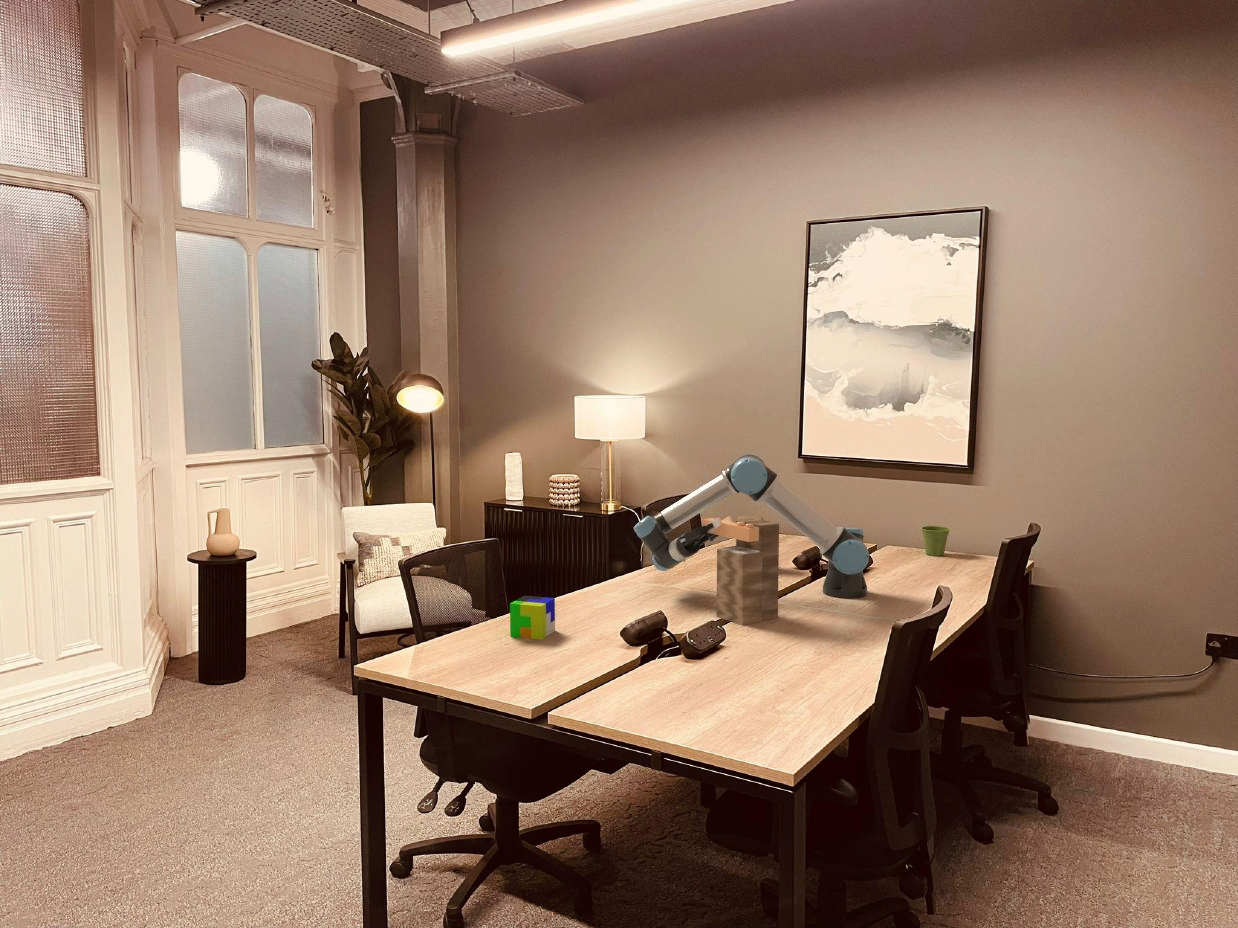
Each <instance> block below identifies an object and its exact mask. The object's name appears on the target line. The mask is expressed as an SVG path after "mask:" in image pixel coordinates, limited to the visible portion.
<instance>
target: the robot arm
mask: <svg viewBox="0 0 1238 928" xmlns="http://www.w3.org/2000/svg"><path fill="white" fill-rule="evenodd" d="M739 493H741V494H744V495H746V496H747V497H748V498H750V499H751V500H753V501H754V502H755V503H764V504H765V505H766V506H768V507H769V508H770V510H771V509H772V511H773V512H775V513H776V514H778V515H779V517H781V518H782V519H784V520H785V521H786V522H787V523H789V524H790V525H791V526H793V528H795V529H796V530H798V531H799V532H800V533H801V534H803V536H805V537H807V538H808V539H809V540H810V541H811V542H813V543H814V544H815V545H817V547H819V554H820V555H822V556H823V557H824V558H825V559H827V560H828V562H827V563H828V564H827V565H828V566H827V567H828V569H827V573H826V576H825V579H824V581H823V583H822V593H823V594H825V595H826V596H829V597H830V596H831V597H835V598H844V599H845V598H847V599H854V598H856V599H858V598H863V597H865V596H867V595H868V585H867V582H866V578H865V576H864V571H863V570H865V569H866V567H867V565H868V564H869V559H870V558H869V557H870V552H869V549H868V546H867V545H866V544H865V543H864V538H865V535H864V530H863V529H862V528H860V527H844V526H835V525H834V524H833V523H831V522H830V521H829V520H828V519H827V518H825V517H824V516H823V515H821V514H820V513H819V512H817V510H815V509H814V508H812V507H811V506H810V505H809V504H808V503H806V502H805V501H804V500H803V499H801V498H800V497H799V496H797V495H796V494H795V493H794V492H793V491H791V490H790V489H789V488H787V486H785V485H784V484H782V483H781V482H780V480H779V475H778V474H777V473H776V472H775V471H773V469H771V468H770V467H768V466H767V465H766V464H765V462H764V461H763V460H762V458H760V457H759V456H757V455H754V454H744V455H742V456H740V457H738V459H736V460H735V461H734V462H733V463H732V464H731V465H729V466H727V467H726V468H724V469H723V470H722V472H721V474H719V476H717V477H715V478H714V479H711V481H708V482H707V483H705V484H703V485H702V486H700V487H699V488H697V489H695V490H694V491H692V492H690V493H689V494H687V495H686V496H684V497H682V498H681V499H679V500H678V501H676V502H675V503H673V504H671V505H670V506H668V507H666V508H664V509H663V510H662V511H661V512H658V513H657V514H654V515H652V516H650V515H647V516H645V517H644V518H642V519H641V520H640V521H639V522H637V523H636V524H635V526H633V530H634V532H635V533H636V535H637V537H638V538H639V539H640V540H641V541H642V543H644V544H645V546H646V547H647V549H649V551H650V553H652V554H653V555H652V562H653V566H654V568H656V569H657V570H658V571H660V572H661V571H662V572H666V571H668V570H669V571H670V570H671V569H673V568H675V567H676V566H678V565H680V563H682V562H683V563H685V562H686V560H688V559H689V558H690V557H692V556H694V555H695V554H697V553H698V552H699V550H700V548H701V546H702V545H704V544H705V543H707V542H713V541H714V540H715V539H716V538H718V537H721V536H720V535H716V534H711V532H712V531H714V530H715V529H717V528H718V527H720V526H722V522H721V520H723V521H728V522H733V523H734V521H733V517H732V515H728V516H727V517H725V518H724V519H721V517H720V516H719V517H718V516H717V517H716V518H714V520H713V521H711V522H710V523H708V524H707V525H706V526H697V527H696V528H694V529H692V530H691V531H689V532H684V533H683V534H681V535H680V536H679V537H677V538H675V539H674V540H672V541H671V540H670V538H669V537H668V536H667V535H666V534H668V533H669V532H671V531H673V530H674V529H675V528H677V527H679V526H680V525H682V524H684V523H686V522H687V521H689V520H691V519H692V518H694V517H695V516H698V515H699V514H701V513H702V512H705V510H707V509H708V508H710V507H713V505H715V504H718V503H719V502H721V501H722V500H724V499H725V498H727V497H729V496H731V495H732V494H737V495H738V494H739ZM708 532H709V533H708Z"/></svg>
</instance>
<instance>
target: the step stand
mask: <svg viewBox="0 0 1238 928" xmlns="http://www.w3.org/2000/svg"><path fill="white" fill-rule="evenodd" d="M737 522H745V525H746V524H754V527H758V528H759V541H753V542H747V541H742V540H738V539H735V545H731V546H725V547H719V548H716V617H717V618H719V619H723V620H724V621H729V622H732V623H735V624H738V625H741V626H745V625H750V624H754V623H759V622H763V621H769V620H773V619H778V618H779V568H780V567H779V566H780V565H779V561H780V559H779V558H780V554H779V550H780V523H779V522H775V521H769V520H765V519H763V520H759V519H753V518H751V519H744V520H737V519H736V522H735V523H737Z"/></svg>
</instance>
